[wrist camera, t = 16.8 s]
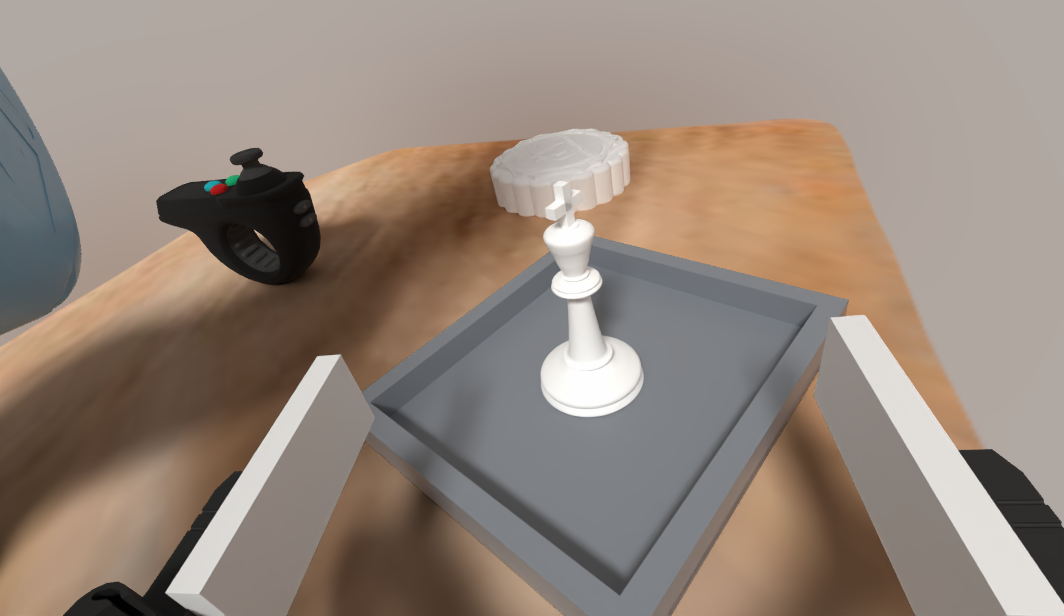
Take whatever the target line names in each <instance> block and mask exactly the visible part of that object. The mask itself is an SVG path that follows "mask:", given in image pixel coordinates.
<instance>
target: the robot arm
mask: <svg viewBox="0 0 1064 616" xmlns="http://www.w3.org/2000/svg"><path fill="white" fill-rule="evenodd" d="M80 267H81V245H80V237H79V232H78V228H77V224H76V220H75V217H74V213H73V210H72V207H71V204H70V201H69V198H68V196H67V193H66V190H65V188H64V185H63V183H62V181H61V178H60V176H59V174H58V171H57V169H56V167H55V165H54V163H53V160H52V158H51V156H50V154H49V152H48V150H47V148H46V146H45V144H44V142H43V140H42V138H41V136H40V134H39V133H38V131H37V129H36V127H35V125H34V124H33V121H32V120H31V118H30V116H29V114H28V113H27V111H26V109H25V107H24V106H23V104H22V102H21V100H20V99H19V97H18V95H17V94H16V92H15V90H14V89H13V87H12V86H11V84H10V82H9V81H8V79H7V78H6V76H5V74H4V73H3V71H2V70H1V68H0V335H2V334H4V333H7V332H9V331H11V330H14V329H16V328H18V327H20V326H22V325H25V324H27V323H29V322H32V321H34V320H37V319H39V318H41V317H43V316H45V315H46V314H48V313H50V312H51V311H52V310H53V308H55V307H57V306H58V305H60V304H61V303H62V302H63V301H64V300H65V299H66V298H67V297H68V296H69V294H70V293H71V291H72V290H73V288H74V286H75V284H76V282H77V279H78V276H79V272H80ZM814 397H815V400H816V402H817V404H818V406H819V408H820V410H821V413H822V415H823V417H824V419H825V421H826V423H827V426H828V428H829V430H830V432H831V434H832V436H833V439H834V441H835V443H836V445H837V447H838V449H839V452H840V454H841V456H842V458H843V460H844V462H845V465H846V467H847V469H848V471H849V473H850V475H851V478H852V480H853V482H854V484H855V486H856V488H857V491H858V493H859V495H860V497H861V499H862V502H863V504H864V506H865V508H866V510H867V512H868V515H869V517H870V519H871V521H872V523H873V525H874V528H875V530H876V532H877V534H878V536H879V538H880V541H881V543H882V545H883V547H884V549H885V551H886V554H887V556H888V558H889V560H890V562H891V564H892V567H893V569H894V571H895V573H896V575H897V577H898V580H899V582H900V584H901V586H902V588H903V590H904V593H905V595H906V597H907V599H908V601H909V603H910V606H911V608H912V610H913V612H914V614H915V616H1064V528H1063V527H1062V525H1061V521H1060V520H1059V518H1058V517H1057V516H1056V515H1055V514H1054V512H1053V511H1052V509H1051V508H1050V507H1049V506H1048V505H1045V504H1044V500H1043V498H1042V497H1041V495H1040V494H1039V493H1038V492H1037V490H1036V489H1035V488H1034V486H1033V485H1032V484H1031V482H1030V481H1029V480H1028V479H1027V477H1026V476H1025V475H1024V473H1023V472H1022V471H1020V470H1019V469H1018V468H1016V467H1015V466H1014V465H1012V464H1011V463H1010V462H1008V461H1007V460H1006V459H1004V458H1003V457H1002V456H1000V455H999V454H998V453H996V452H995V451H994V450H992V449H984V450H957V448H956V447H955V445H954V444H953V442H952V441H951V439H950V438H949V436H948V435H947V434H946V432H945V431H944V429H943V428H942V426H941V425H940V423H939V422H938V420H937V419H936V418H935V416H934V415H933V413H932V412H931V410H930V409H929V407H928V406H927V404H926V403H925V402H924V400H923V399H922V397H921V396H920V394H919V393H918V391H917V390H916V388H915V387H914V386H913V384H912V383H911V381H910V380H909V378H908V377H907V375H906V374H905V372H904V371H903V370H902V368H901V367H900V365H899V364H898V362H897V361H896V359H895V358H894V356H893V355H892V354H891V352H890V351H889V349H888V348H887V346H886V345H885V343H884V342H883V340H882V339H881V338H880V336H879V335H878V333H877V332H876V330H875V329H874V327H873V326H872V324H871V323H870V322H869V320H868V319H867V317H866V316H865V315H858V316H844V317H831V318H830V321H829V325H828V330H827V335H826V340H825V344H824V349H823V354H822V359H821V364H820V368H819V373H818V378H817V383H816V387H815V392H814ZM374 419H375V416H374V414H373V412H372V410H371V409H370V407H369V405H368V403H367V401H366V400H365V398H364V396H363V394H362V392H361V390H360V389H359V387H358V385H357V383H356V381H355V380H354V378H353V376H352V374H351V372H350V370H349V369H348V367H347V365H346V363H345V361H344V359H343V358H342V356H341V355H328V356H317V358H316V359H315V361H314V362H313V364H312V365H311V367H310V368H309V370H308V372H307V373H306V375H305V376H304V378H303V379H302V381H301V382H300V384H299V386H298V387H297V389H296V390H295V392H294V393H293V395H292V396H291V398H290V400H289V401H288V403H287V404H286V406H285V407H284V409H283V410H282V412H281V414H280V415H279V417H278V418H277V420H276V421H275V423H274V424H273V426H272V427H271V429H270V431H269V432H268V434H267V435H266V437H265V438H264V440H263V441H262V443H261V445H260V446H259V448H258V449H257V451H256V452H255V454H254V455H253V457H252V459H251V460H250V462H249V463H248V465H247V466H246V468H245V469H244V471H238V472H234V473H233V474H232V475H231V476H230V477H228V478H227V479H226V480H225V481H224V482H223V483H222V484H221V485H220V486H219V487H218V488H217V489H216V490H215V491H214V493H213V494H212V496H211V497H210V499H209V500H208V502H207V503H206V505H205V506H204V508H203V509H202V514H199V515H198V517H197V518H196V520H195V521H194V523H193V524H192V526H191V530H190V531H188V532H187V533H186V535H185V536H184V538H183V539H182V541H181V542H180V544H179V545H178V547H177V548H176V550H175V551H174V553H173V554H172V556H171V557H170V559H169V560H168V562H167V563H166V565H165V566H164V567H163V569H162V570H161V572H160V573H159V575H158V576H157V578H156V579H155V581H154V582H153V584H152V585H151V587H150V588H149V590H148V591H147V593H146V594H145V595H144V596H143V597H141V596H140V595H139V594H137V593H136V592H134V591H133V590H132V589H130V588H129V587H127V586H126V585H124V584H122V583H120V582H111V583H106V584H104V585H101V586H99V587H97V588H95V589H93V590H91V591H90V592H88V593H87V594H86V595H84V596H83V597H81V598H80V599H79V600H78V601H77V602H76V603H75V604H74V605H73V606H72V607H71V608H70V609H69V610H68V611H67V612H66V613H65V614H64V615H63V616H287V613H288V611H289V609H290V607H291V605H292V602H293V600H294V598H295V596H296V593H297V591H298V589H299V587H300V584H301V582H302V580H303V578H304V575H305V573H306V571H307V569H308V566H309V564H310V562H311V560H312V557H313V555H314V553H315V551H316V549H317V546H318V544H319V542H320V540H321V537H322V535H323V533H324V531H325V528H326V526H327V524H328V522H329V519H330V517H331V515H332V513H333V510H334V508H335V506H336V504H337V502H338V499H339V497H340V495H341V493H342V490H343V488H344V486H345V484H346V481H347V479H348V477H349V475H350V472H351V470H352V468H353V466H354V463H355V461H356V459H357V457H358V454H359V452H360V450H361V448H362V446H363V443H364V441H365V439H366V437H367V434H368V432H369V430H370V428H371V425H372V423H373V421H374Z"/></svg>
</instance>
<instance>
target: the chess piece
mask: <svg viewBox="0 0 1064 616" xmlns="http://www.w3.org/2000/svg"><path fill="white" fill-rule="evenodd" d="M553 190H554V196H555V202H553V203H552V204H550V205H549V206H548V207H546V208H545V211H546V217H547V219H549V220H554V221H557V220H559V221H558V222H556V223H554V224H552V225H551V226H549V227H548V228H547V229H546V231H545V232H544V235H543V239H544V242H545V244H546V246H547V248H548V249H549V251H550V252H551V253H552V255H553V257H554V258H555V261H556V263H557V265H558V266H559V268H560V269H561V271H559V272H558V273H557V274H556V275H555V276H554V277H553V279H552V285H551V289H552V291H553V293H554V294H555V295H557V296H559V297H561V298H565V299H567V303H568V323H569V340H568V341H566V342H564V343H562V344H561V345H559V346H557V347H556V348H555V349H554V350H552V351H551V352H550V353H549V355H548V356H547V357H546V359H545V360H544V362H543V365H542V368H541V389H542V392H543V395H544V397H545V398H546V400H547V401H548V402H549V403H550V404H551V405H552V406H553V407H555V408H556V409H558V410H560V411H562V412H564V413H566V414H569V415H573V416H579V417H597V416H603V415H607V414H610V413H613V412H616V411H618V410H620V409H622V408H624V407H625V406H627V405H628V404H629V403H630V402H632V401H633V400H634V399H635V397H636V396H637V395H638V394H639V392H640V390H641V388H642V385H643V381H644V373H643V369H642V366H641V361H640V359H639V356H638V355H637V353H636V352H635V350H634V349H633V348H632V347H630V346H629V345H628V344H626V343H625V342H623V341H621V340H619V339H616V338H613V337H609V336H603V335H601V331H600V328H599V325H598V321H597V318H596V315H595V311H594V308H593V304H592V300H591V296H590V295H592V294H594V293H595V292H596V291H598V290H599V288H600V287H601V285H602V278H601V276H600V274H599V272H598V271H597V270H596V269H594V268H592V267H589V266H587V265H588V261H589V257H590V250H591V246H592V243H593V239H594V234H595V230H594V227H593V225H592V224H591V223H589V222H588V221H585V220H582V219H575V218H574V211H573V208H574V207H576V206H577V205H578V204H580V203H581V202H582V201H583V200H582V192H581V191H580V190H574V189H572V190H570V184H569V182H566V181H558V182H557V183H555V184H554V185H553Z"/></svg>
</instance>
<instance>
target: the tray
mask: <svg viewBox="0 0 1064 616" xmlns="http://www.w3.org/2000/svg"><path fill="white" fill-rule="evenodd" d="M587 266H589V267H592V268H594V269H596V270H597V271H598V272H599V274H600V276H601V278H602V285H601V287H600V288H599V290H598V291H596V292H595V293H594V294H592V295H590V296H591V300H592V304H593V308H594V311H595V315H596V318H597V321H598V325H599V328H600V331H601V335H603V336H609V337H613V338H616V339H619V340H621V341H623V342H625V343H626V344H628V345H629V346H630V347H632V348H633V349H634V350H635V352H636V353H637V355H638V356H639V359H640V361H641V366H642V369H643V373H644V381H643V385H642V388H641V390H640V392H639V394H638V395H637V396H636V397H635V399H634V400H633V401H632V402H630V403H629V404H628V405H627V406H625V407H624V408H622V409H620V410H618V411H616V412H613V413H610V414H607V415H603V416H597V417H579V416H573V415H569V414H566V413H564V412H562V411H560V410H558V409H556V408H555V407H553V406H552V405H551V404H550V403H549V402H548V401H547V400H546V398H545V397H544V395H543V392H542V389H541V368H542V365H543V362H544V360H545V359H546V357H547V356H548V355H549V353H550V352H551V351H552V350H554V349H555V348H556V347H557V346H559V345H561V344H562V343H564V342H566V341H568V340H569V323H568V303H567V299H565V298H561V297H559V296H557V295H555V294H554V293H553V291H552V289H551V285H552V279H553V277H554V276H555V275H556V274H557V273H558V272H559V271H561V269H560V268H559V266H558V265H557V263H556V261H555V258H554V257H553V255H552V253H551V252H549V253H547V254H546V255H545V256H543V257H542V258H540V259H539V260H538V261H536V262H535V263H534V264H532V265H531V266H530V267H528V268H527V269H526V270H524V271H523V272H522V273H520V274H519V275H518V276H516V277H515V278H514V279H512V280H511V281H510V282H508V283H507V284H506V285H504V286H503V287H502V288H500V289H499V290H498V291H496V292H495V293H494V294H492V295H491V296H490V297H488V298H487V299H486V300H484V301H483V302H481V303H480V304H479V305H477V306H476V307H475V308H473V309H472V310H471V311H469V312H468V313H467V314H465V315H464V316H463V317H461V318H460V319H459V320H457V321H456V322H455V323H453V324H452V325H451V326H449V327H448V328H447V329H445V330H444V331H443V332H441V333H440V334H439V335H437V336H436V337H435V338H433V339H432V340H431V341H429V342H428V343H427V344H425V345H424V346H422V347H421V348H420V349H418V350H417V351H416V352H414V353H413V354H412V355H410V356H409V357H408V358H406V359H405V360H404V361H402V362H401V363H400V364H398V365H397V366H396V367H394V368H393V369H392V370H390V371H389V372H388V373H386V374H385V375H384V376H382V377H381V378H380V379H378V380H377V381H376V382H374V383H373V384H372V385H370V386H369V387H368V388H366V389H365V390H364V391H362V394H363V396H364V398H365V400H366V401H367V403H368V405H369V407H370V409H371V410H372V412H373V414H374V416H375V419H374V421H373V423H372V425H371V428H370V430H369V432H368V434H367V437H366V439H365V442H366V443H368V444H369V445H370V446H371V447H372V448H373V449H374V450H376V451H377V452H378V453H379V454H380V455H381V456H382V457H384V458H385V459H386V460H387V461H388V462H389V463H390V464H392V465H393V466H394V467H395V468H396V469H397V470H398V471H400V472H401V473H402V474H403V475H404V476H405V477H406V478H408V479H409V480H410V481H411V482H412V483H413V484H414V485H416V486H417V487H418V488H419V489H420V490H421V491H422V492H424V493H425V494H426V495H427V496H428V497H429V498H430V499H432V500H433V501H434V502H435V503H436V504H437V505H438V506H440V507H441V508H442V509H443V510H444V511H445V512H446V513H448V514H449V515H450V516H451V517H452V518H453V519H454V520H456V521H457V522H458V523H459V524H460V525H461V526H462V527H464V528H465V529H466V530H467V531H468V532H469V533H470V534H472V535H473V536H474V537H475V538H476V539H477V540H478V541H480V542H481V543H482V544H483V545H484V546H485V547H486V548H488V549H489V550H490V551H491V552H492V553H493V554H494V555H496V556H497V557H498V558H499V559H500V560H501V561H502V562H504V563H505V564H506V565H507V566H508V567H509V568H510V569H512V570H513V571H514V572H515V573H516V574H517V575H518V576H520V577H521V578H522V579H523V580H524V581H525V582H526V583H528V584H529V585H530V586H531V587H532V588H533V589H534V590H536V591H537V592H538V593H539V594H540V595H541V596H542V597H544V598H545V599H546V600H547V601H548V602H549V603H550V604H552V605H553V606H554V607H555V608H556V609H557V610H558V611H560V612H561V613H562V614H563V615H564V616H671V615H672V613H673V612H674V610H675V608H676V607H677V605H678V603H679V602H680V600H681V598H682V597H683V595H684V593H685V592H686V590H687V588H688V587H689V585H690V584H691V582H692V580H693V579H694V577H695V575H696V574H697V572H698V570H699V569H700V567H701V565H702V564H703V562H704V560H705V559H706V557H707V555H708V554H709V552H710V550H711V549H712V547H713V545H714V544H715V542H716V540H717V539H718V537H719V535H720V534H721V532H722V530H723V529H724V527H725V525H726V524H727V522H728V520H729V519H730V517H731V515H732V514H733V512H734V510H735V509H736V507H737V505H738V504H739V502H740V500H741V499H742V497H743V495H744V494H745V492H746V490H747V489H748V487H749V485H750V484H751V482H752V480H753V479H754V477H755V475H756V474H757V472H758V470H759V469H760V467H761V466H762V464H763V462H764V461H765V459H766V457H767V456H768V454H769V452H770V451H771V449H772V447H773V446H774V444H775V442H776V441H777V439H778V437H779V436H780V434H781V432H782V431H783V429H784V427H785V426H786V424H787V422H788V421H789V419H790V417H791V416H792V414H793V412H794V411H795V409H796V407H797V406H798V404H799V402H800V401H801V399H802V397H803V396H804V394H805V392H806V391H807V389H808V387H809V386H810V384H811V382H812V381H813V379H814V377H815V376H816V374H817V372H818V371H819V368H820V364H821V359H822V354H823V349H824V344H825V340H826V335H827V330H828V325H829V321H830V318H831V317H844V316H845V314H846V310H847V306H848V301H849V300H847V299H843V298H839V297H835V296H831V295H827V294H823V293H819V292H815V291H811V290H807V289H803V288H799V287H795V286H791V285H787V284H783V283H779V282H775V281H771V280H767V279H763V278H759V277H755V276H751V275H747V274H743V273H739V272H735V271H731V270H727V269H723V268H719V267H715V266H711V265H707V264H703V263H699V262H695V261H691V260H687V259H683V258H679V257H675V256H671V255H667V254H663V253H659V252H655V251H651V250H648V249H644V248H640V247H636V246H632V245H628V244H624V243H620V242H616V241H612V240H608V239H604V238H600V237H596V236H594V239H593V243H592V246H591V250H590V257H589V261H588V265H587Z"/></svg>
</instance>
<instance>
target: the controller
mask: <svg viewBox="0 0 1064 616" xmlns="http://www.w3.org/2000/svg"><path fill="white" fill-rule="evenodd" d="M262 155H263V152H262V150H261V149H259V148H251V149H247V150H243V151H241V152H238V153H236V154H234V155H233V156H231V157H230V161H231V163H232V164H234V165H242V167H243V170H242V172H241V174H240V176H239V175H233V176H230V177H229V178H227V179H221V180H211V181H200V182H190V183H186V184H184V185H181V186H179V187H177V188H175V189H173V190H171V191H169V192H168V193H166V194H164V195H162V196H160V197H159V198H158V200H157V201H156V202H157V208H158V214H159V215H160V216H159V219H160V220H161V221H162V222H165V223H167V224H170V225H173V226H177V227H180V228H184V229H188V230H190V231H192V232H194V233H195V234H196V235H197V236H198V237H199V238H200V239H201V241H202V242H203V243H204V244H205V246H206V247H207V248H208V250H209V251H210V252H211V253H212V254H213V255H214V256H215V257H216V258H217V259H218V260H219V261H221V262H222V263H223V264H224V265H226V266H227V267H228V268H230V269H231V270H233V271H235V272H236V273H238V274H240V275H242V276H244V277H246V278H248V279H251V280H254V281H257V282H261V283H267V284H278V283H284V282H288V281H290V280H292V279H294V278H296V277H297V276H299V275H300V274H301V273H303V272H304V271H305V270H306V269H307V268H308V267H309V266H310V265H311V264H312V263H313V261H314V260H315V258H316V257H317V254H318V252H319V249H320V238H321V236H320V229H319V225H318V221H317V215H316V214H315V210H314V207H313V203H312V199H311V196H310V193H309V191H308V189H306V188H305V185H304V183H303V182H302V180H303V177H304V175H303V173H301V172H281V171H280V170H278V169H276V168H273V167H269V166H267V165H264V164H260V163H259V161H258V159H259V158H260V157H262ZM254 230H256V231H257V232H259V233H260V234H262V235H263V236H264V237H265V238H266V239H267V240H268V241H269V242H270V243H271V245H272V246H273V247H274V249H275V250H276V252H275V251H274V250H272V249H270V248H269V247H268V246H267V245H266V244H265V243H263V242H262V241H261V240H260V238H259V237H258V236H257V234H256V233H255V231H254Z"/></svg>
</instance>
